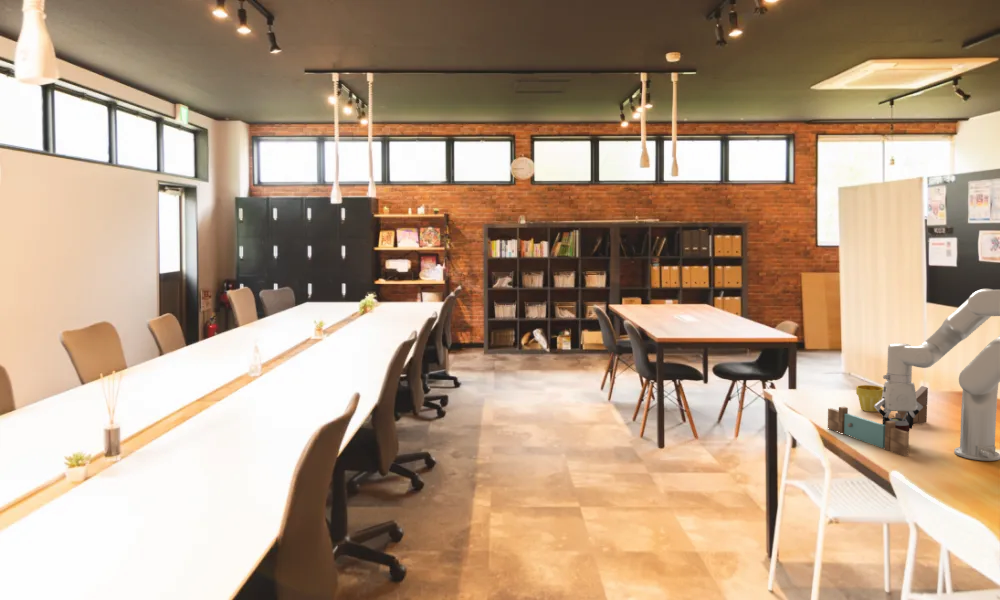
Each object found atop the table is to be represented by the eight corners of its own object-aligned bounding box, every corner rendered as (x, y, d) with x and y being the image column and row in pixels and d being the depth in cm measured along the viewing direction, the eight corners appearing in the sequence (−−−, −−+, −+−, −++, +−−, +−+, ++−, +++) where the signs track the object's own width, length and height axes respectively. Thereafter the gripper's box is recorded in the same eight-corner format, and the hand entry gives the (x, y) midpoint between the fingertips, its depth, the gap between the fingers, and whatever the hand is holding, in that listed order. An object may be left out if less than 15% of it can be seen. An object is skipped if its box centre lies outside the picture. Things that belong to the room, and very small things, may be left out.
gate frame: (909, 455, 230) (910, 426, 229) (903, 456, 230) (904, 426, 229) (832, 428, 265) (832, 403, 264) (826, 429, 264) (827, 403, 263)
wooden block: (927, 423, 270) (928, 378, 268) (900, 423, 269) (901, 378, 268) (920, 420, 274) (922, 376, 272) (894, 421, 273) (896, 377, 272)
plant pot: (859, 412, 288) (860, 389, 287) (853, 406, 298) (853, 384, 297) (886, 413, 286) (887, 390, 285) (879, 407, 296) (879, 385, 295)
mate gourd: (882, 440, 246) (882, 399, 245) (897, 437, 249) (898, 396, 248) (901, 445, 239) (901, 403, 238) (916, 442, 242) (917, 400, 241)
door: (885, 447, 239) (886, 425, 238) (880, 448, 239) (880, 425, 238) (846, 434, 256) (847, 413, 256) (841, 434, 256) (842, 413, 255)
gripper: (878, 380, 239) (877, 430, 241) (930, 380, 238) (928, 430, 239) (868, 376, 247) (867, 424, 248) (919, 376, 245) (917, 425, 247)
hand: (897, 427), depth 244 cm, fingers closed on mate gourd, 7 cm apart
